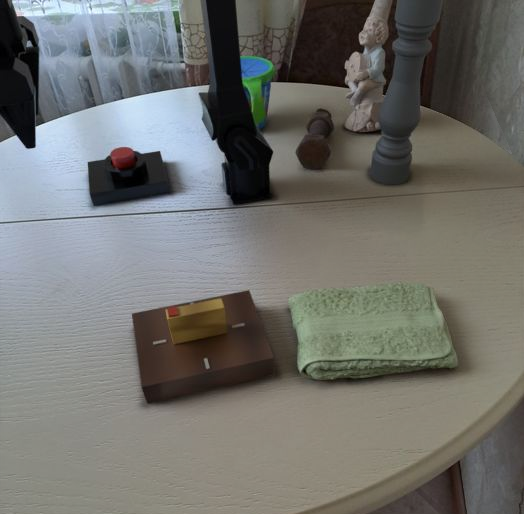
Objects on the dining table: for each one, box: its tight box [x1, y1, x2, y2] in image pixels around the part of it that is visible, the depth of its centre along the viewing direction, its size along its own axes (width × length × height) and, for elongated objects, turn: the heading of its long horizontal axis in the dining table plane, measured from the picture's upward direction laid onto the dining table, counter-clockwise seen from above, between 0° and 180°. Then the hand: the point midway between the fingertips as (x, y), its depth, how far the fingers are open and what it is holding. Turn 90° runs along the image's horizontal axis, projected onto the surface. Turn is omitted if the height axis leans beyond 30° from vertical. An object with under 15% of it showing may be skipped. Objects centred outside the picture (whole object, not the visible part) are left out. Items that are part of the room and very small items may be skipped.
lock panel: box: [131, 289, 275, 404], centre depth 56 cm, size 14×11×3 cm
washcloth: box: [288, 282, 459, 381], centre depth 57 cm, size 13×18×3 cm
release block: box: [87, 150, 171, 207], centre depth 80 cm, size 12×10×4 cm
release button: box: [109, 146, 136, 168], centre depth 78 cm, size 4×4×2 cm
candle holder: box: [369, 0, 444, 186], centre depth 72 cm, size 6×6×25 cm
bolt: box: [295, 108, 335, 170], centre depth 86 cm, size 6×5×15 cm
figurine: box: [344, 0, 394, 133], centre depth 85 cm, size 9×8×20 cm
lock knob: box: [166, 298, 227, 344], centre depth 53 cm, size 6×2×4 cm, turn 105°
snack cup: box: [240, 55, 275, 130], centre depth 90 cm, size 16×10×10 cm
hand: (33, 130), depth 63 cm, fingers open, 9 cm apart
